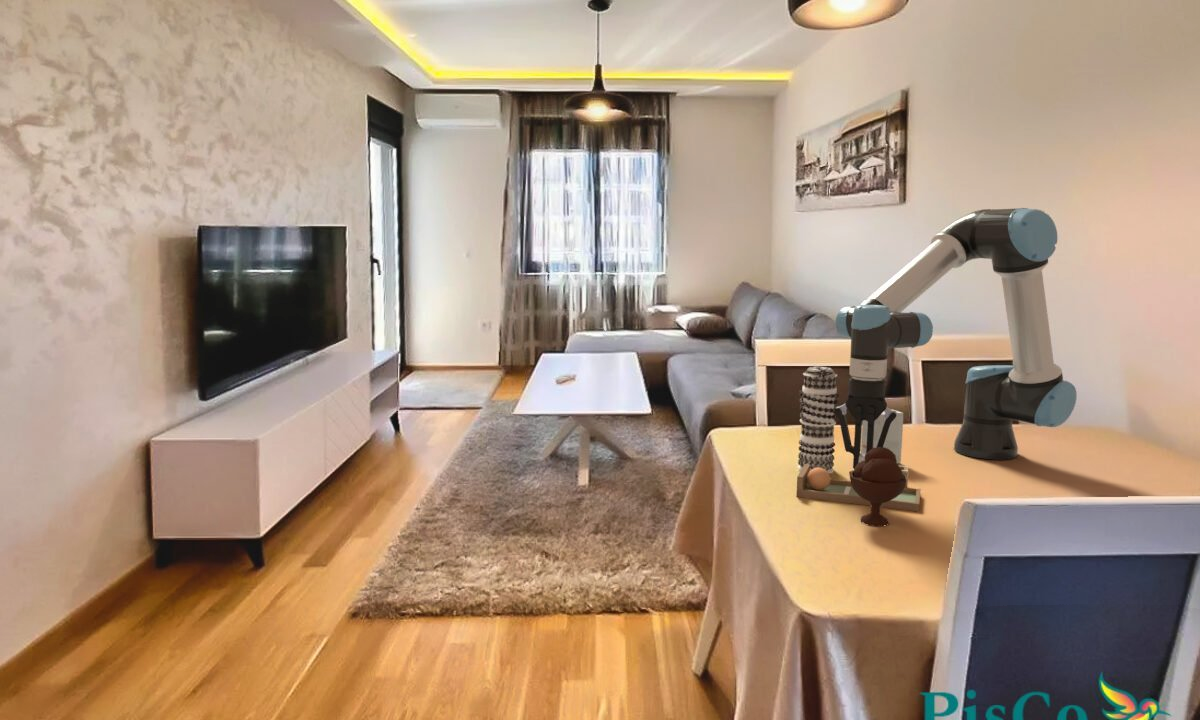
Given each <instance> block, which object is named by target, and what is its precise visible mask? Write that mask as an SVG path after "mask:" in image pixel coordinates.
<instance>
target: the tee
mask: <svg viewBox="0 0 1200 720" xmlns="http://www.w3.org/2000/svg"><path fill="white" fill-rule="evenodd" d="M898 465H899V468H901V470H902V475H904V476H905V478H906V480H907V482H906V485H905V488H908V487H909V486H908V485H909V468H910V467H909V465H908V466H907V465H900V464H898ZM907 486H908V487H907Z"/></svg>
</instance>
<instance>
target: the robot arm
mask: <svg viewBox="0 0 1200 720" xmlns="http://www.w3.org/2000/svg"><path fill="white" fill-rule="evenodd" d="M1057 244H1058V231H1057V226H1056V224H1055V221H1054V220H1053V219H1052V217H1051V216H1050V214H1048V213H1046V212H1045V211H1044V210H1041V209H1036V208H1034V209H1033V208H1028V207H1027V208H1026V207H1020V208H999V209H991V208H990V209H989V208H987V209H980V210H979V209H977V210H974V211H971V212H969V213H967V214H965V215H963V216H961V217H959V218H958V219H956V220H954V221H953V222H951V223H950V224H948V225H946V226H945V227H944V228H943V229H941V230H940V231H939V232H937V233H936V235H934V236H933V237H932V238H931V240H930V245H928V246H927V248H925V249H924V250H923V251H922V252H921V253H919V254H918V255H917V256H916V257H915V258H913V259H912V260H911V261H910V262H909V263H907V264H906V265H905V266H904V267H902V269H900V270H899V271H897V272H896V274H894V275H893V276H892V277H891V278H889V280H887V281H886V282H885V283H884V284H882V285H881V286H879V288H878V289H876V290H875V291H874V292H873V293H872V294H871V295H870V296H868V297H867V298H866V299H865V300H864V301H862V302H861V303H860V304H859V305H857V306H855V305H850V306H844V307H843V308H841V309H840V310H839V311H838V312H837V314H836V317H835V319H834V320H835V322H834V324H835V329H836V331H837V334H839V335H840V336H841V337H843V338H846V339H848V340H850V358H849V373H848V374H849V375H850V378H849V379H848V391H847V398H846V400H845V402H844V404H842V405H837V406H836V407H835V408H836V409H835V413H834V414H835V415H836V416H837V418H838V420H839V425H840V430H841V436H842V440H843V444H844V450H845V452H846V453H849V454H852V456H853V460H852V461H853V463H852V469H853V470H855V467H856V465H857V464H858V463H860V462H861V461H864V460H865V454H861V441H862V424H863V420H866V421H868V429H867V448H866V453H867V452H869V451H870V450H871V449H872V448H873V440H874V423H875V420H876V419H877V418H878V417H879V416H880V415H881V414H882V413H883V412H885V415H884V417H885V418H886V420H885V423H884V426H883V429H882V432H881V435H880V438H879V441H878V444H877V447H883V445H884V442H885V439H886V436H887V433H888V430H889V427H890V424H891V422H892V421H893V420H894V419H895V418H896V415H897V412H896V411H897V410H895V411H892V410H893V409H892V408H889V407H888V404H887V402H886V384H887V383H886V379H885V378H886V377H887V370H888V353H889V349H901V348H903V349H904V348H911V349H913V348H918V347H921V346H924V345H927V344H928V343H929V342H930V340H931V339H932V337H933V332H934V331H933V330H934V327H933V322H932V320H931V318H930V317H929V316H928V315H927V314H925V313H923V312H914V311H910V312H903V311H904V310H906V309H907V308H908V307H909V306H910V305H911V304H912V303H914V302H915V301H916V300H917V299H918V298H919V297H920V296H922V295H923V294H924V293H925V292H927V290H929V289H930V288H931V287H933V285H934V284H936V283H937V282H938V281H940V279H941V278H943V277H944V276H945V275H946V274H947V273H949V271H951V270H952V269H956V268H957V269H959V268H961V267H962V266H963V265H965V264H966V263H967V262H969V261H972V260H976V259H988V260H991V264H992V270H993V273H995V274H997V275H999V277H1001V283H1002V291H1003V297H1004V304H1005V311H1006V312H1005V313H1006V319H1007V326H1008V332H1009V339H1010V345H1011V346H1010V347H1011V354H1012V360H1013V365H1003V364H1001V365H999V364H997V365H994V364H993V365H978V366H977V365H976V366H971V368H969V369H968V370H967V373H966V379H965V394H964V405H963V406H964V408H963V420H962V424H961V425H960V428H959V431H958V433H957V435H956V437H955V440H954V444H953V446H954V447H953V450H954V451H955V452H956V453H958V454H961V455H963V456H967V457H971V458H975V459H984V460H994V461H995V460H999V461H1001V460H1005V461H1006V460H1012V459H1015V458H1017V457H1018V453H1019V451H1018V450H1019V447H1018V444H1017V440H1016V436H1015V431H1014V428H1013V421H1018V422H1023V423H1028V424H1032V425H1036V426H1037V427H1046V428H1057V427H1059V426H1061V425H1063V424H1064V423H1065V422H1067V420H1068V419H1069V418H1070V416H1072V413H1073V411H1074V409H1075V407H1076V402H1077V388H1076V386H1075V385H1074V384H1073V383H1071V382H1070V381H1067V380H1064V375H1063V371H1062V370H1063V369H1062V367H1061V366H1060V365H1057V364H1056V363H1055V362H1054V354H1053V347H1052V339H1051V329H1050V323H1049V313H1048V307H1047V300H1046V292H1045V290H1046V289H1045V285H1044V276H1043V275H1044V274H1043V270H1044V269H1045V268H1046V266H1047V265H1048V264H1049V258H1050V257H1052V255H1054V252H1055V251H1056V249H1057V247H1056V245H1057ZM891 409H892V410H891ZM847 410H848V411H849V412H850V414H851V416H852V417H853V419H854V439H853V440H854V441H853V445H852V439H851V436H850V429H849V425H848V421H847V414H848V411H847Z"/></svg>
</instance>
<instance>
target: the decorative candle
mask: <svg viewBox="0 0 1200 720" xmlns="http://www.w3.org/2000/svg"><path fill="white" fill-rule="evenodd" d="M802 375H803V385H802V389H800V390H799V392H798V393H799V396H801V397H800V399H799V403H800V405H799V410H800V411H801V412H800V413H799V418H800V419H799V422H800V424H801V426H800V427H801V428H800V429H801V430H800V431H801V433H800V436H799V438H800V439H799V440H798V444H799V447H798V450H799V453H798V454H797V455H798V460H797V464H798V466H797V469H798V471H799V472H800V471H801V469H802V468H803V466H804V464H810V471H811V470H812V469H814V468H823V469H825V470H826V471H827V472H828V473H829V475H830V474H833V472H834V468H833V467H834V466H835V463H834V460H835V455H833V454H834V453H835V452H836V451H835V448H834V447H835V446H836V443H835V434H834V432H835V426H836V424H837V421H835V419H837V418H838V416H837V415H836V413H835V409H836V407H835V405H838V404H839V400H837V398H839V397H840V394H838V393H837V390H838V389H837V386H836V385H837V377H838V374H836V373H835V371H834V369H832V368H831V367H829V366H828V367H827V366H819V365H818V366H809V367H807V369H806V370H805V372H803V373H802Z"/></svg>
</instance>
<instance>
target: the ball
mask: <svg viewBox="0 0 1200 720" xmlns="http://www.w3.org/2000/svg"><path fill="white" fill-rule="evenodd" d="M830 479H831V476H830V474H829V473H828V472H827V471H826V470H825V469H823V468H814V469H812V470H811V471H810V472H809V473H808V476H807V481H808V484H809V485H810V487H811V488H813V489H815V490H824V489H825V488H827V487H828V486H829V484H830Z"/></svg>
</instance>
